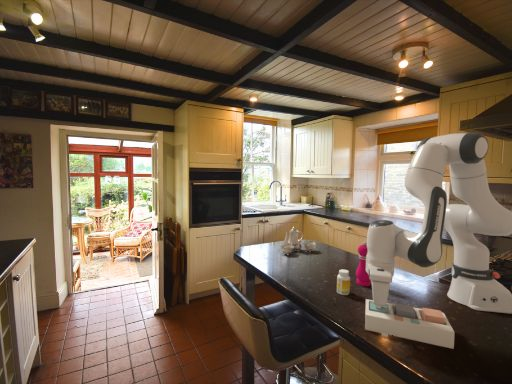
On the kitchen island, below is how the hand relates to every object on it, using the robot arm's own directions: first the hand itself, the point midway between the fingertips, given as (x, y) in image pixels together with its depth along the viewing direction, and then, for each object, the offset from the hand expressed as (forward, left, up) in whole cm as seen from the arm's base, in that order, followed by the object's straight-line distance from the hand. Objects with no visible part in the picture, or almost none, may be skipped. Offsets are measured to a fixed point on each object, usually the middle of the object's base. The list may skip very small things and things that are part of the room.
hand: (378, 307), depth 90 cm
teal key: (0, 0, -3) cm, 3 cm away
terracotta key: (-16, 0, -2) cm, 16 cm away
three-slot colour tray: (-8, +1, -5) cm, 10 cm away
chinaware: (+47, -72, -6) cm, 86 cm away
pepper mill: (+5, -33, -5) cm, 34 cm away
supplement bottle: (+13, -19, -6) cm, 24 cm away
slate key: (-8, 0, -2) cm, 8 cm away
